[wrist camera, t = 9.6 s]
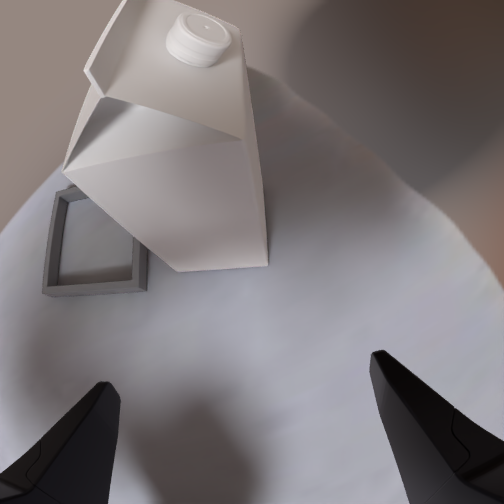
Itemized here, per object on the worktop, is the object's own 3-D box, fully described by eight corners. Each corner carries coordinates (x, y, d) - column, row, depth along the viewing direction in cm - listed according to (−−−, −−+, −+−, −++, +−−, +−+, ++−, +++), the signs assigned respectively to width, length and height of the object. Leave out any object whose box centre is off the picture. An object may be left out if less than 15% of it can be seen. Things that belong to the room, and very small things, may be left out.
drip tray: (146, 291, 24) (138, 287, 23) (52, 297, 25) (42, 293, 23) (151, 179, 27) (145, 171, 26) (64, 198, 28) (56, 191, 26)
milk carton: (177, 273, 24) (-4, 111, 6) (180, 192, 26) (70, 2, 8) (268, 267, 24) (226, 35, 6) (263, 184, 26) (229, -44, 8)
